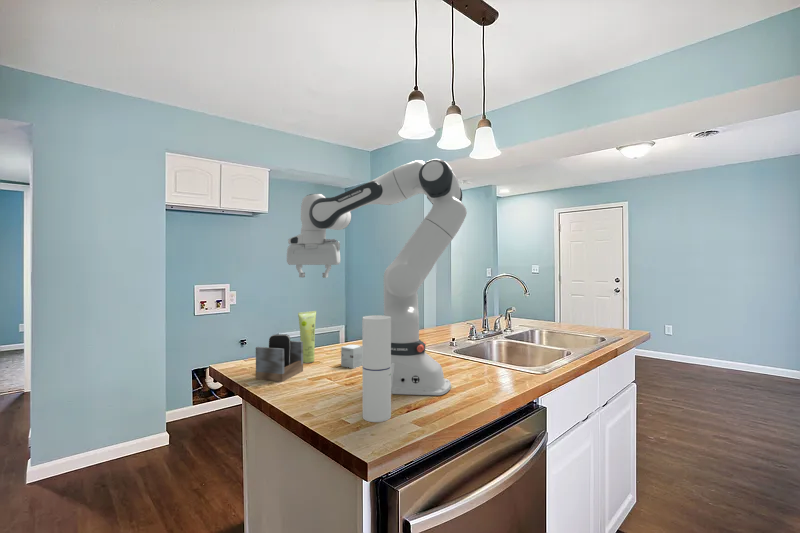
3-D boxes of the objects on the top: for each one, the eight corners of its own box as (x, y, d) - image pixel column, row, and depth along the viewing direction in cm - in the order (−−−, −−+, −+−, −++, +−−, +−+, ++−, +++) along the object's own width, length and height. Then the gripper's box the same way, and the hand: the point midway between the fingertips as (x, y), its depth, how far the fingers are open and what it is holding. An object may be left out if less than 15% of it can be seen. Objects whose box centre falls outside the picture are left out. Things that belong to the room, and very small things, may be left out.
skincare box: (340, 366, 147) (340, 346, 147) (351, 363, 153) (351, 343, 152) (353, 368, 144) (353, 348, 144) (363, 365, 149) (363, 345, 149)
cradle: (303, 371, 141) (302, 341, 141) (282, 381, 129) (282, 349, 129) (278, 368, 144) (278, 340, 144) (255, 379, 132) (255, 347, 131)
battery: (291, 365, 139) (291, 333, 139) (289, 368, 135) (289, 335, 135) (270, 366, 138) (270, 333, 138) (268, 369, 134) (268, 335, 134)
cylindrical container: (356, 418, 99) (356, 317, 99) (374, 409, 105) (373, 314, 105) (379, 424, 95) (379, 320, 95) (396, 414, 101) (396, 316, 101)
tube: (310, 364, 151) (310, 312, 151) (298, 363, 152) (297, 312, 152) (316, 360, 156) (316, 310, 156) (304, 359, 157) (304, 310, 157)
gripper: (343, 239, 144) (343, 277, 145) (293, 240, 150) (293, 276, 150) (335, 238, 138) (336, 278, 138) (284, 239, 144) (284, 277, 144)
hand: (313, 277), depth 144 cm, fingers open, 8 cm apart
